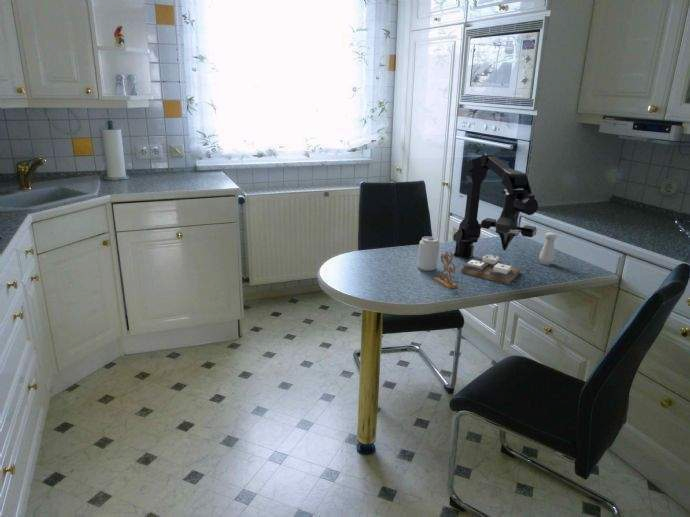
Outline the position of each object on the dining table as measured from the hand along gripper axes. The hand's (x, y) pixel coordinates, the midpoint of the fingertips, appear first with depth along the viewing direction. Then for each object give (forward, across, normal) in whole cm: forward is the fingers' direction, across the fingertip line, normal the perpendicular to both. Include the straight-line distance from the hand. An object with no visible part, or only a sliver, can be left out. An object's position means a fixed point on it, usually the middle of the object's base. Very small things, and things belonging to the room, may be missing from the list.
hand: (504, 250), depth 187 cm
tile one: (+8, 0, 0) cm, 8 cm away
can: (+11, -26, -9) cm, 29 cm away
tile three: (+9, -10, 0) cm, 13 cm away
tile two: (+8, -7, +8) cm, 13 cm away
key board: (+11, -5, +4) cm, 13 cm away
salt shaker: (+11, +9, +31) cm, 34 cm away
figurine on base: (+12, -14, -19) cm, 26 cm away
